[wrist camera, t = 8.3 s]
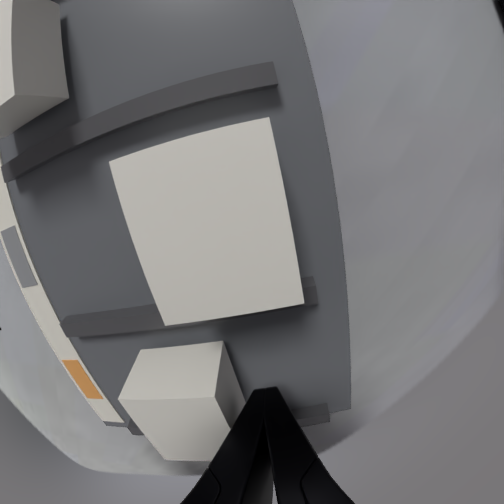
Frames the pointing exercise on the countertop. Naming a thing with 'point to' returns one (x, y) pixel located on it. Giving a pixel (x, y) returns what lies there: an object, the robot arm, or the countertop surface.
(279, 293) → the white rectangular block
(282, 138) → the switch bank
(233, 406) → the off-white short block
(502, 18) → the countertop surface
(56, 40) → the tab
